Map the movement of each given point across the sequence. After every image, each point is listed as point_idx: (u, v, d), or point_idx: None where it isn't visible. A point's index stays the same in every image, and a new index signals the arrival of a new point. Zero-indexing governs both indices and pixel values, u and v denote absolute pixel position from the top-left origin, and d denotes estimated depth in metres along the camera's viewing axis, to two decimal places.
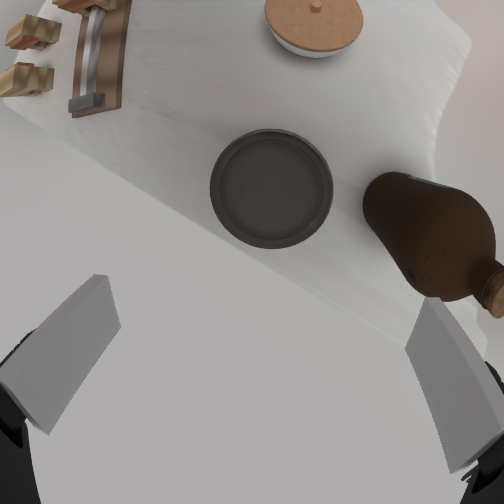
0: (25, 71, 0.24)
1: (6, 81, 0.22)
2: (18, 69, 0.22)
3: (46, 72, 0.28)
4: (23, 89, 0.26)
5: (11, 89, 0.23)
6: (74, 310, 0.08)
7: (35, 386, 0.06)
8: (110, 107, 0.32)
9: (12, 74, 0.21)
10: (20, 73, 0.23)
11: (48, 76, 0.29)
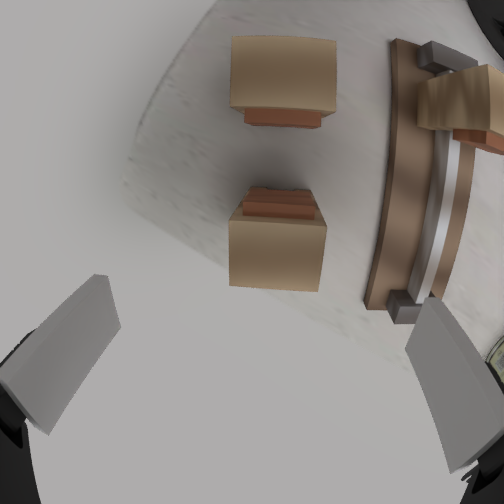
0: None
1: (283, 260, 0.15)
2: None
3: None
4: None
5: None
6: (74, 310, 0.08)
7: (35, 386, 0.06)
8: None
9: (315, 253, 0.15)
10: None
11: None
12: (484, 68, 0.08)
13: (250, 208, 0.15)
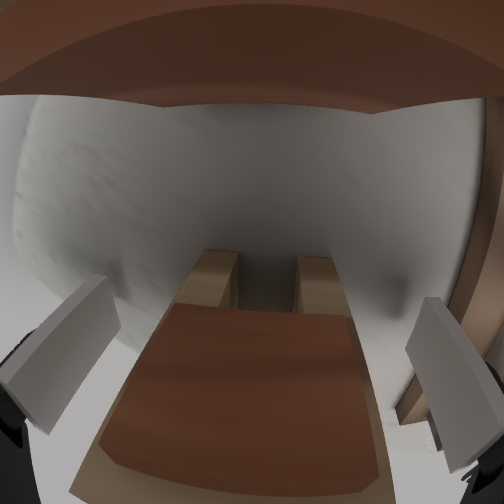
0: None
1: None
2: None
3: None
4: None
5: None
6: (74, 310, 0.08)
7: (35, 386, 0.06)
8: None
9: None
10: None
11: None
12: None
13: (129, 462, 0.03)
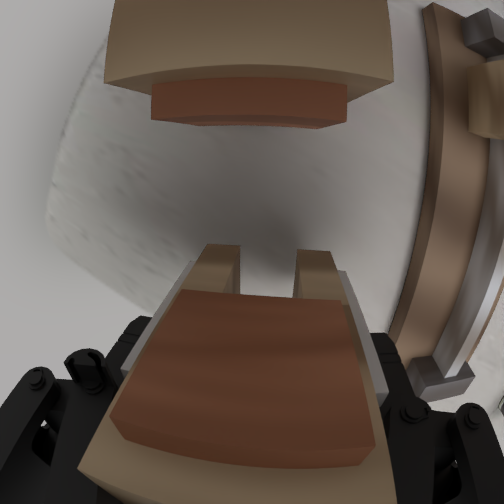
0: None
1: None
2: None
3: None
4: None
5: None
6: None
7: None
8: None
9: None
10: None
11: None
12: None
13: (139, 435, 0.03)
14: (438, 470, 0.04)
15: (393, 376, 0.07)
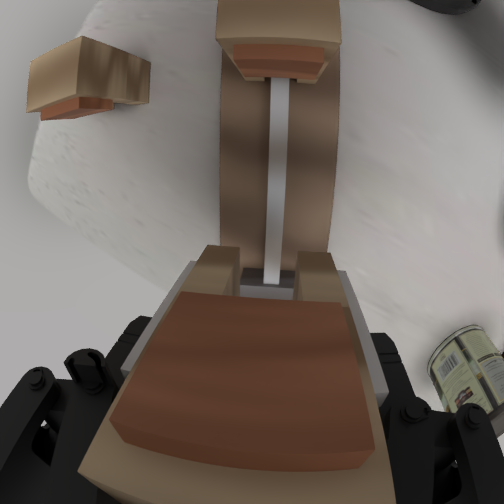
0: None
1: None
2: None
3: None
4: None
5: None
6: None
7: None
8: None
9: None
10: None
11: None
12: None
13: (138, 438, 0.03)
14: (438, 470, 0.04)
15: (393, 376, 0.07)
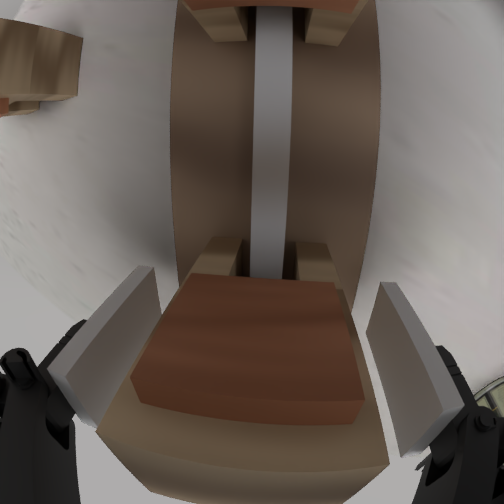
0: None
1: (256, 498, 0.04)
2: None
3: None
4: None
5: None
6: (127, 300, 0.09)
7: (91, 378, 0.06)
8: None
9: (339, 492, 0.04)
10: None
11: None
12: None
13: (155, 394, 0.04)
14: None
15: (458, 388, 0.06)
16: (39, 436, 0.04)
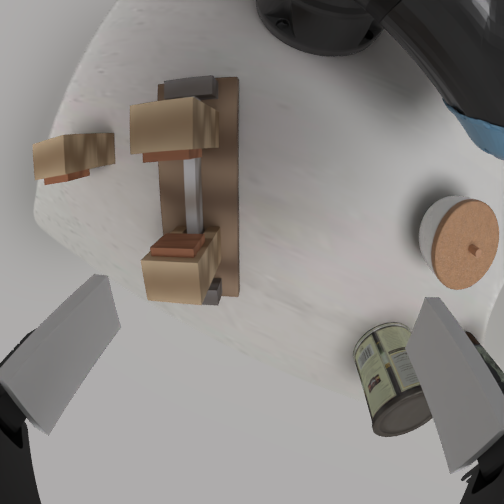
0: (206, 261, 0.25)
1: (175, 284, 0.23)
2: (201, 266, 0.23)
3: (217, 240, 0.30)
4: None
5: None
6: (74, 310, 0.08)
7: (35, 386, 0.06)
8: (230, 295, 0.35)
9: (193, 280, 0.23)
10: (203, 270, 0.24)
11: (218, 245, 0.31)
12: None
13: (155, 251, 0.23)
14: None
15: None
16: None
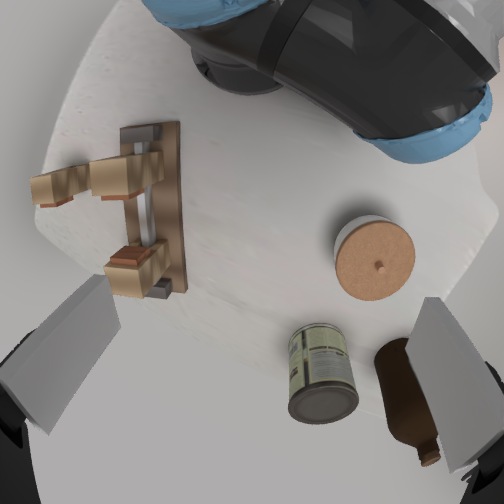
0: (148, 268, 0.33)
1: (125, 284, 0.32)
2: (142, 272, 0.32)
3: (163, 250, 0.38)
4: None
5: None
6: (74, 310, 0.08)
7: (35, 386, 0.06)
8: (179, 291, 0.43)
9: (136, 281, 0.31)
10: (144, 275, 0.33)
11: (165, 253, 0.39)
12: None
13: (113, 260, 0.32)
14: None
15: None
16: None
